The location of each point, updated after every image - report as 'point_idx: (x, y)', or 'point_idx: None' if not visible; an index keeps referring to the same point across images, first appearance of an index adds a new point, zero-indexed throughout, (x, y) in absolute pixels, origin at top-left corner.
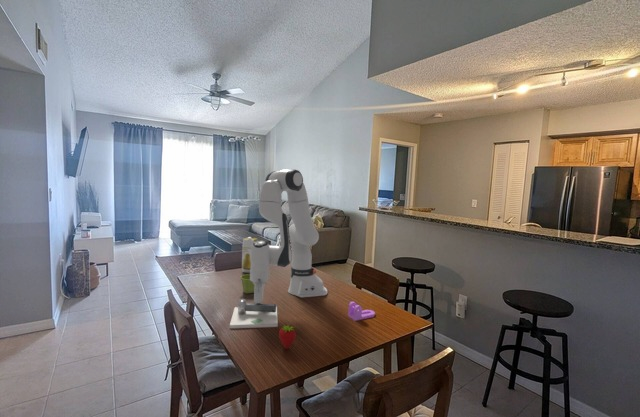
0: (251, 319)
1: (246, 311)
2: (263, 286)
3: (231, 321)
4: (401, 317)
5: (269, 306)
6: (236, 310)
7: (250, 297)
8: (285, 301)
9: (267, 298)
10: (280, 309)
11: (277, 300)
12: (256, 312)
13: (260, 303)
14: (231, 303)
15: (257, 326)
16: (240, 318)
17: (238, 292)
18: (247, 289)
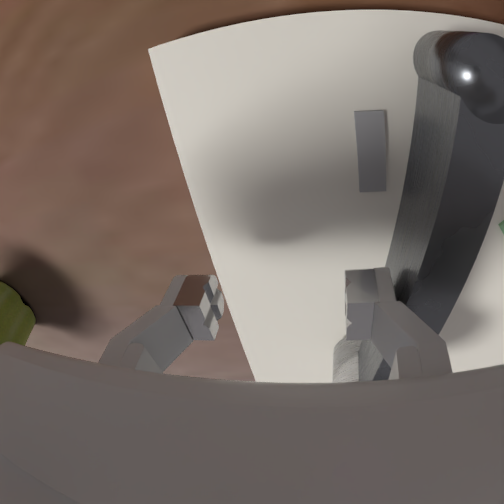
0: (493, 277)
1: (333, 327)
2: (26, 393)
3: (469, 368)
4: None
5: (501, 160)
6: (311, 373)
7: (55, 295)
8: (4, 39)
9: (13, 195)
10: (166, 4)
11: (7, 111)
12: (360, 254)
13: (408, 308)
14: (171, 372)
15: None
16: (449, 341)
17: (48, 340)
18: (21, 328)
